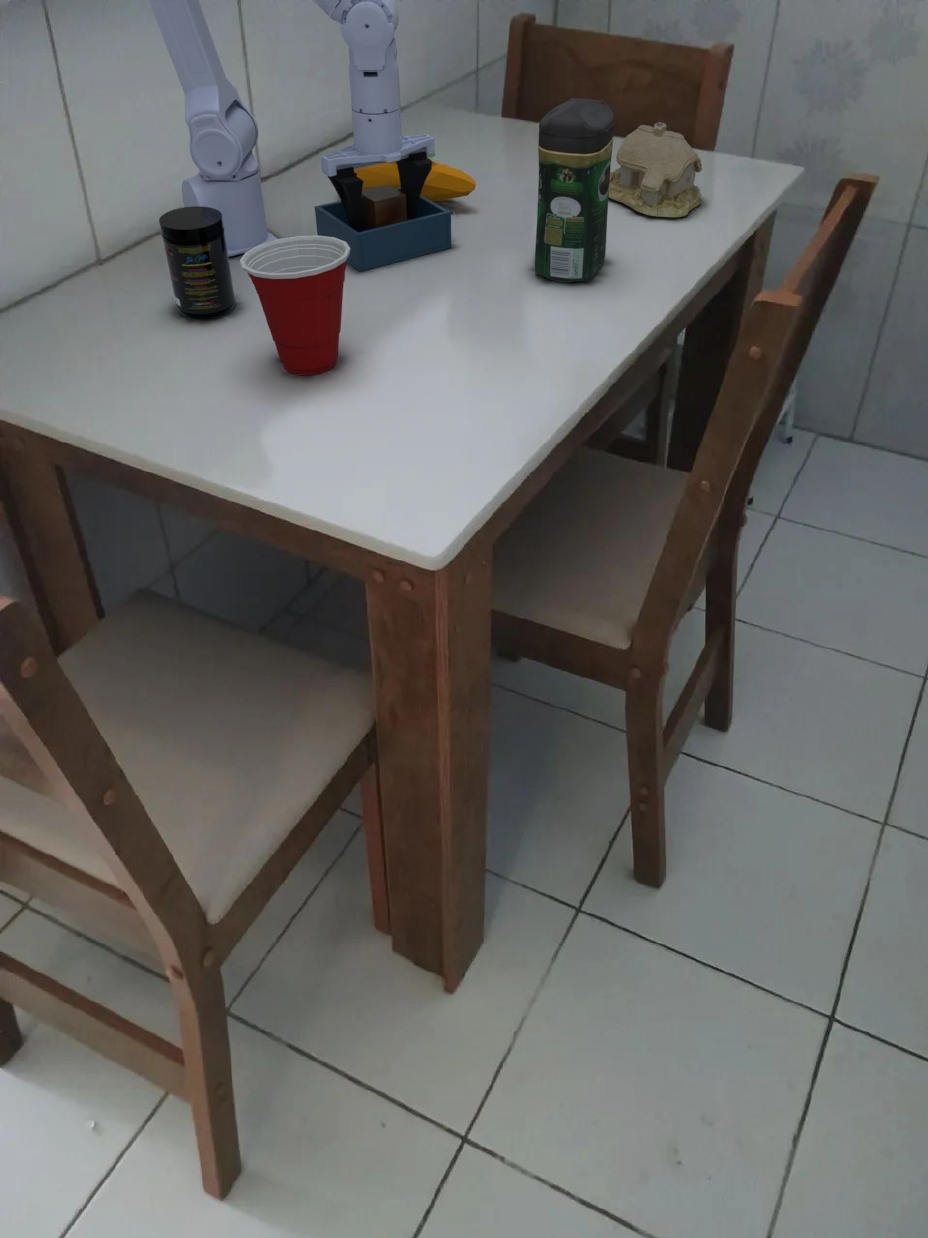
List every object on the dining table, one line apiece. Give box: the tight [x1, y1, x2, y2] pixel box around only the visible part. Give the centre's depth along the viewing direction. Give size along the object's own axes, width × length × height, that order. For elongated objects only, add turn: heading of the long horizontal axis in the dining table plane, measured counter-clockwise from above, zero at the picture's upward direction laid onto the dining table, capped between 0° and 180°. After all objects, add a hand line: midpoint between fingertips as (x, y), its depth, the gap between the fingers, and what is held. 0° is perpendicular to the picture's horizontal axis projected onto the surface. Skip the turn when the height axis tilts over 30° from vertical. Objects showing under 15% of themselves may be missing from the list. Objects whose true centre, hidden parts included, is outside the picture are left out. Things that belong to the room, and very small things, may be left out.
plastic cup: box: [239, 234, 350, 376], centre depth 107 cm, size 11×11×12 cm
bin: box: [314, 187, 452, 272], centre depth 133 cm, size 13×11×4 cm
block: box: [361, 185, 407, 232], centre depth 133 cm, size 4×4×6 cm
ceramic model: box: [608, 121, 703, 218], centre depth 142 cm, size 14×11×10 cm
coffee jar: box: [534, 97, 616, 283], centre depth 123 cm, size 10×8×19 cm
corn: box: [354, 153, 477, 202], centre depth 143 cm, size 7×8×20 cm
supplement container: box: [158, 206, 236, 321], centre depth 118 cm, size 7×7×10 cm
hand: (382, 223), depth 133 cm, fingers open, 7 cm apart
